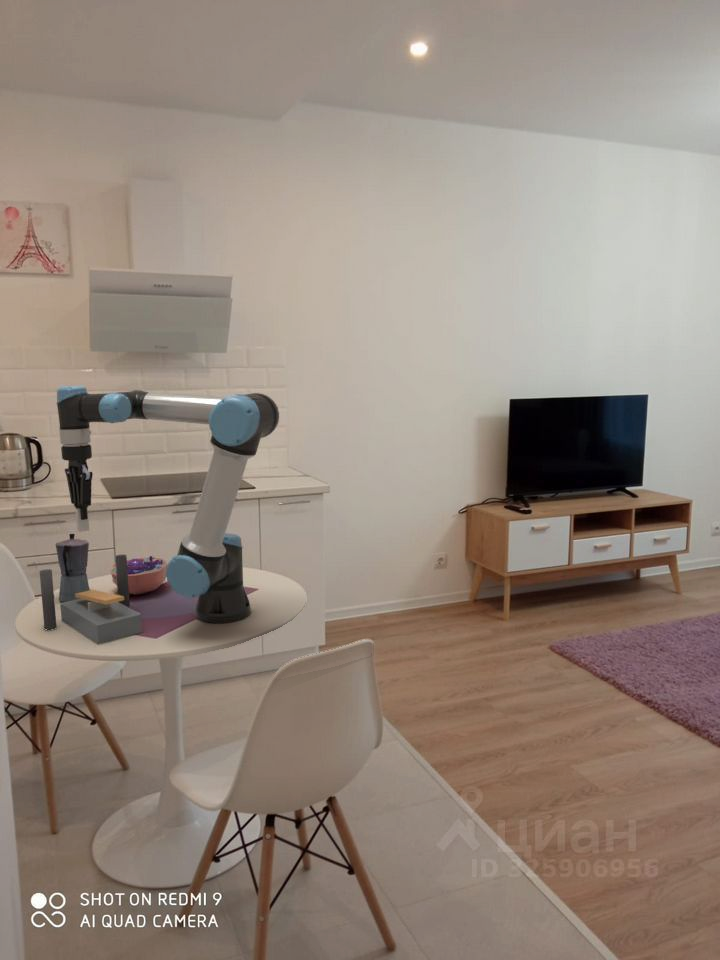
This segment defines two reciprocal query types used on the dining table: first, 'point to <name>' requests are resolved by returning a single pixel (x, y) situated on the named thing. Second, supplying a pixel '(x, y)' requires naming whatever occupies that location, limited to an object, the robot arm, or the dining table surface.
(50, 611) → the post
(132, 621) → the block
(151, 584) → the cell model
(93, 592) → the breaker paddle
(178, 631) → the dining table surface
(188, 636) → the dining table surface
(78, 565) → the moka pot
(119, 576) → the post
